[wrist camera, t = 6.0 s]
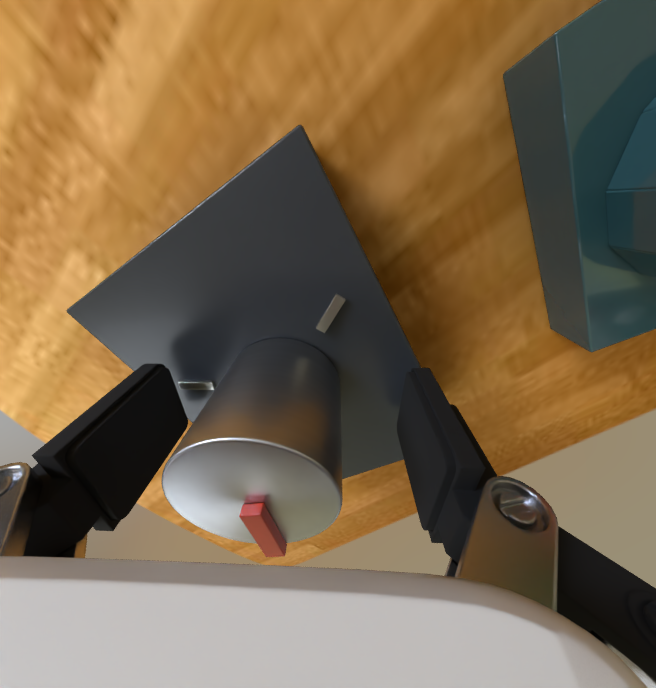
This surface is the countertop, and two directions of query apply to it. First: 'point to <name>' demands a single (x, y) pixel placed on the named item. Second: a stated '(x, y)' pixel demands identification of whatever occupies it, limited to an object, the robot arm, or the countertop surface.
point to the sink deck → (263, 296)
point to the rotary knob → (264, 450)
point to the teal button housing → (592, 169)
